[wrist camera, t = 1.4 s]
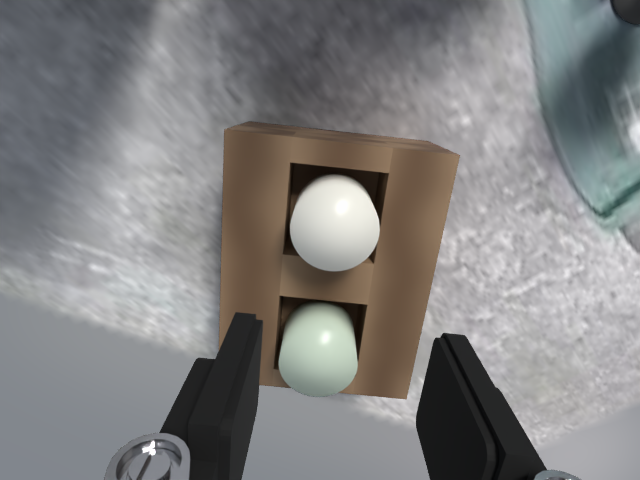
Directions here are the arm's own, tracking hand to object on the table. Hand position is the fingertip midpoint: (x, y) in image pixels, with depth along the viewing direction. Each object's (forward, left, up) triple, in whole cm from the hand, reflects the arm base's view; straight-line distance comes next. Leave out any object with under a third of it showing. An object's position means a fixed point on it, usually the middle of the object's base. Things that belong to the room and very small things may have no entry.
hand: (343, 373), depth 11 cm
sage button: (0, +9, -16) cm, 19 cm away
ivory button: (0, 0, -16) cm, 16 cm away
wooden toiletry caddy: (0, +5, -23) cm, 24 cm away
